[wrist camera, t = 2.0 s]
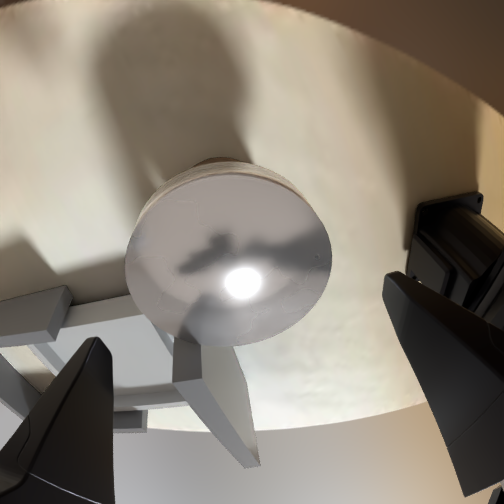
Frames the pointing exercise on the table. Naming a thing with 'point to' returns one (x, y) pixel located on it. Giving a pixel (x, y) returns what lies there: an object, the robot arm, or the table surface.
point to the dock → (42, 331)
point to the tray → (161, 370)
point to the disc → (227, 255)
